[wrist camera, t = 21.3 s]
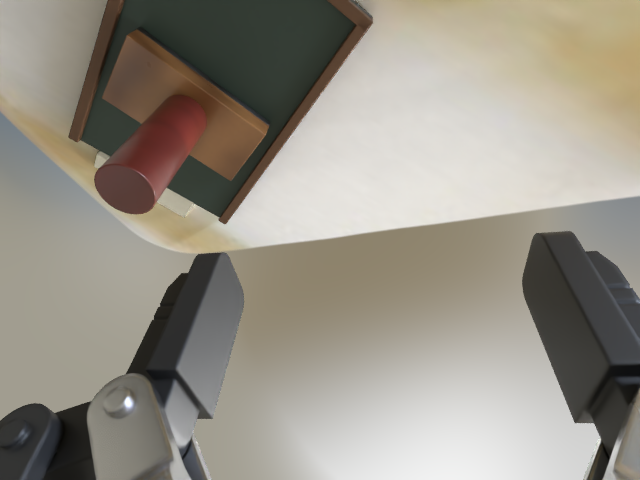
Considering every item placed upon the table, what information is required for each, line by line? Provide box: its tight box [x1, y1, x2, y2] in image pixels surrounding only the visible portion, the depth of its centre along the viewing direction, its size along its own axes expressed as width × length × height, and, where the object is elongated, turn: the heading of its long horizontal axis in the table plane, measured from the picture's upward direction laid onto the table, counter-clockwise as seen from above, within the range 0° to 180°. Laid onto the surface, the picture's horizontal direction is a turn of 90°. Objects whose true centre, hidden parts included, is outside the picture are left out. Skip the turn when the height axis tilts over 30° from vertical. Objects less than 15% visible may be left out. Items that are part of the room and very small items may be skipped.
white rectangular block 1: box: [94, 151, 110, 169], centre depth 36 cm, size 4×2×1 cm, turn 51°
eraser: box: [94, 27, 270, 214], centre depth 27 cm, size 11×6×12 cm, turn 52°
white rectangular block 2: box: [157, 188, 194, 218], centre depth 39 cm, size 4×2×1 cm, turn 53°
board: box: [69, 0, 373, 224], centre depth 30 cm, size 15×22×2 cm
